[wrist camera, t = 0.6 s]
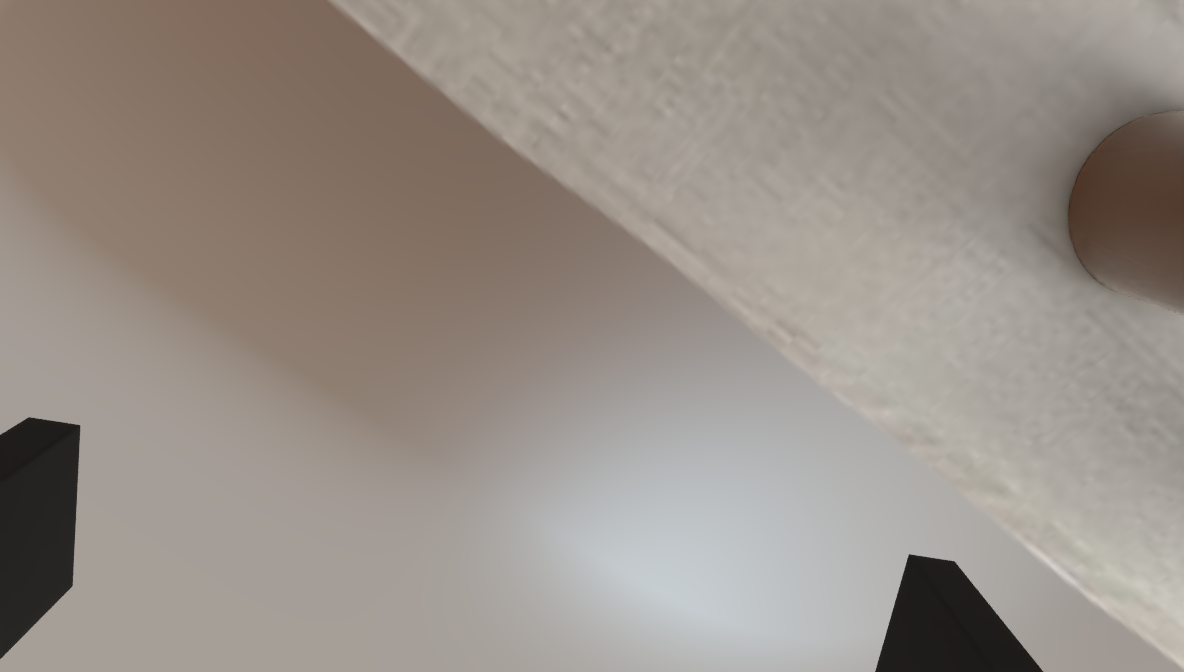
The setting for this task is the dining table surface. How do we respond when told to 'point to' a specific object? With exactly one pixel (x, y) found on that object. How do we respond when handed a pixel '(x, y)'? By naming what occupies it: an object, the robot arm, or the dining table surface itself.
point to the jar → (1135, 211)
